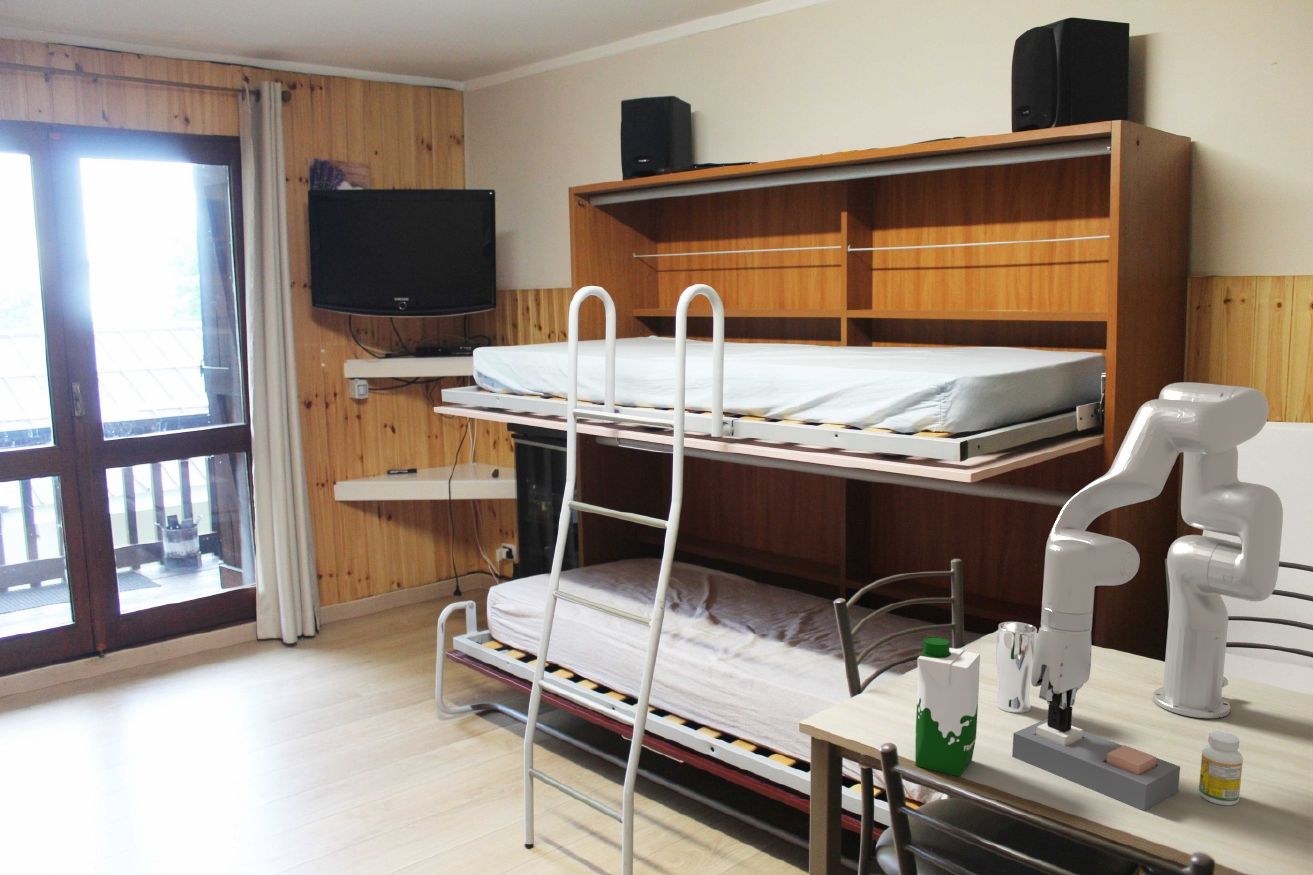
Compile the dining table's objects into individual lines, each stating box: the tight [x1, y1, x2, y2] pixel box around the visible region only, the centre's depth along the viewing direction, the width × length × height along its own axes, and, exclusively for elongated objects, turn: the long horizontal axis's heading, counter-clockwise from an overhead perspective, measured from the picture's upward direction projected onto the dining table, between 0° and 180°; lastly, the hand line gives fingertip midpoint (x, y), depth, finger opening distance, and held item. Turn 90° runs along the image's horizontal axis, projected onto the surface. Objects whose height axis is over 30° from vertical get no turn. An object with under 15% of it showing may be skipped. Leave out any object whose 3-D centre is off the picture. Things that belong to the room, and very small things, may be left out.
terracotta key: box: [1106, 744, 1157, 776], centre depth 156 cm, size 5×5×4 cm
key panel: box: [1011, 718, 1181, 812], centre depth 161 cm, size 10×22×4 cm, turn 37°
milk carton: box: [914, 636, 981, 778], centre depth 163 cm, size 9×9×20 cm
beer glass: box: [995, 621, 1038, 714], centre depth 187 cm, size 7×7×15 cm
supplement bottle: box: [1198, 730, 1244, 806], centre depth 154 cm, size 5×5×10 cm
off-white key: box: [1036, 723, 1083, 747], centre depth 166 cm, size 5×5×4 cm
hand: (1058, 728), depth 166 cm, fingers closed
